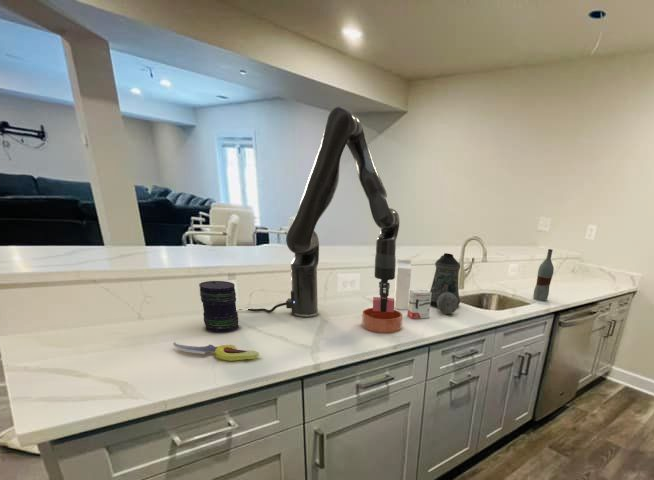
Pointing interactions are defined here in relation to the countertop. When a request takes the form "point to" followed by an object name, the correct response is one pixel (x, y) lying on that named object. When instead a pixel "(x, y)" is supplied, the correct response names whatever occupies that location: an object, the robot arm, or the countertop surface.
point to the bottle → (544, 278)
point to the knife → (221, 351)
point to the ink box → (419, 303)
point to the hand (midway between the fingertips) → (383, 309)
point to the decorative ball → (447, 303)
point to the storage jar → (219, 306)
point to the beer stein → (445, 278)
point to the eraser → (378, 304)
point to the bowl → (381, 321)
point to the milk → (402, 284)
